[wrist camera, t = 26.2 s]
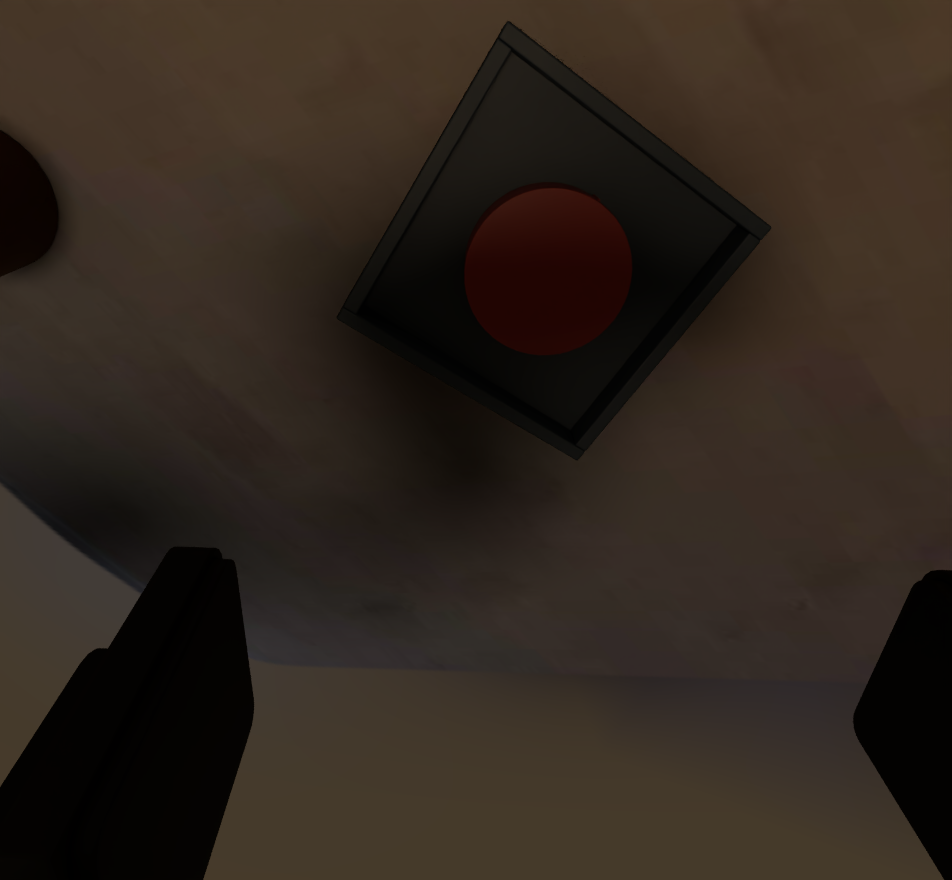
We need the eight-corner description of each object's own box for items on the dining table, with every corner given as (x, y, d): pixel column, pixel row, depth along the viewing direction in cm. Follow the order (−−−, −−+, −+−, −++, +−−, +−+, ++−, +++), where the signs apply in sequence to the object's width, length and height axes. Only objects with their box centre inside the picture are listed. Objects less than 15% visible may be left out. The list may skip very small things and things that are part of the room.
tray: (571, 440, 32) (577, 461, 30) (343, 304, 29) (335, 318, 27) (753, 218, 27) (772, 227, 25) (504, 24, 24) (508, 20, 22)
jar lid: (525, 144, 25) (528, 148, 24) (658, 240, 27) (668, 249, 26) (434, 289, 28) (432, 300, 27) (560, 369, 30) (565, 383, 28)
